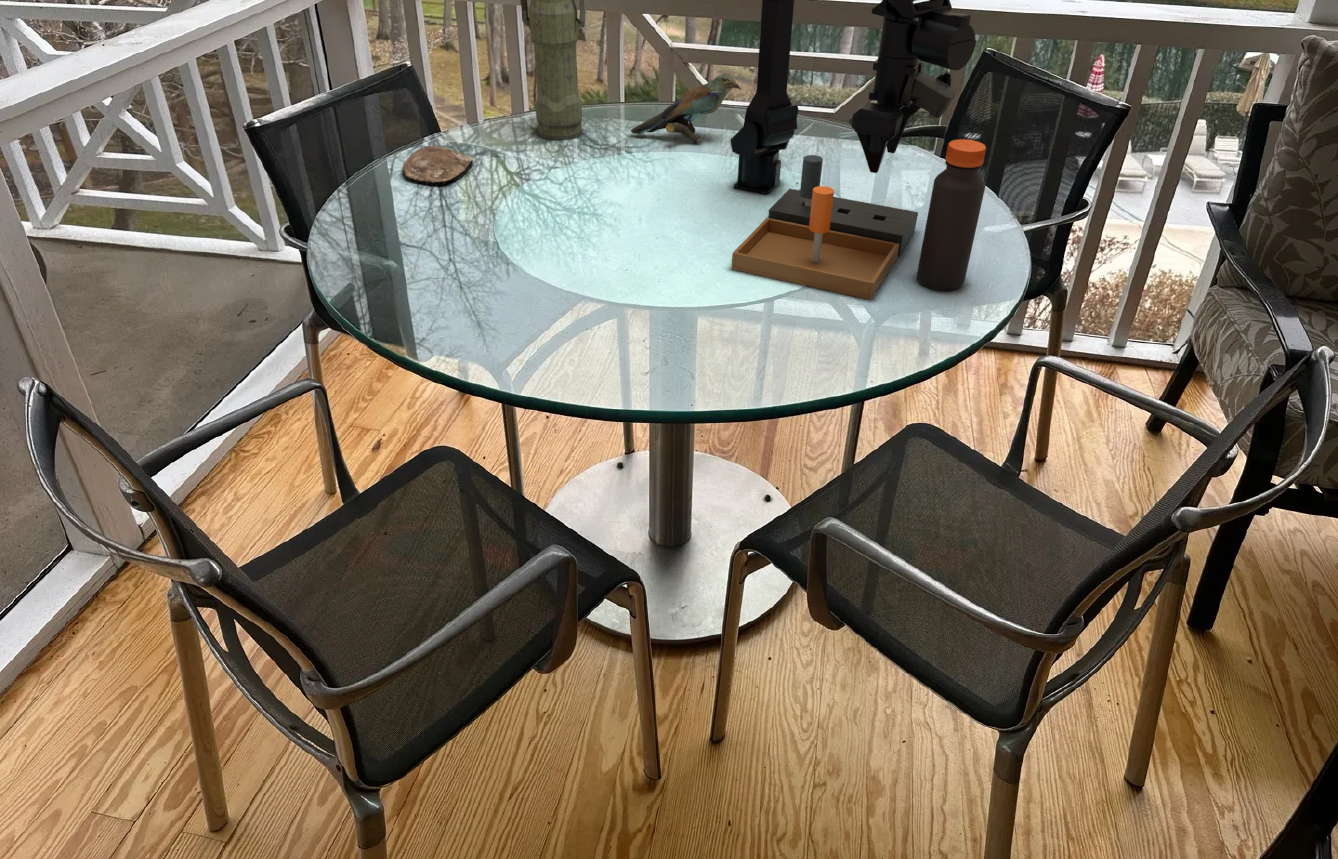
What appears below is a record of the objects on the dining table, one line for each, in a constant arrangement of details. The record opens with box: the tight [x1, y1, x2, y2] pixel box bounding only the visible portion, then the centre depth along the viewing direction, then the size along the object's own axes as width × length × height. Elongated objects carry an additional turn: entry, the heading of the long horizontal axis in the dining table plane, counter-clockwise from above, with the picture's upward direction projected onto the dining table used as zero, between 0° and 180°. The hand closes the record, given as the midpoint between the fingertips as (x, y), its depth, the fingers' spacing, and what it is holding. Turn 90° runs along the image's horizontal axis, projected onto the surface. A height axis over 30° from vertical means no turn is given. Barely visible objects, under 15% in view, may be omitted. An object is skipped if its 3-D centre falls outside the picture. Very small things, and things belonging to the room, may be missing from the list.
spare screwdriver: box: [799, 154, 824, 207], centre depth 148 cm, size 3×3×11 cm
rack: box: [767, 188, 919, 258], centre depth 149 cm, size 10×21×4 cm, turn 64°
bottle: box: [916, 138, 987, 292], centre depth 130 cm, size 7×7×20 cm
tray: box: [731, 217, 899, 301], centre depth 139 cm, size 21×14×3 cm
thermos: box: [519, 0, 586, 141], centre depth 176 cm, size 9×12×35 cm
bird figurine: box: [630, 72, 742, 145], centre depth 180 cm, size 13×10×20 cm
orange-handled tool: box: [809, 185, 835, 262], centre depth 137 cm, size 3×3×11 cm
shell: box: [401, 145, 474, 186], centre depth 167 cm, size 12×13×4 cm
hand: (882, 162), depth 140 cm, fingers open, 9 cm apart
